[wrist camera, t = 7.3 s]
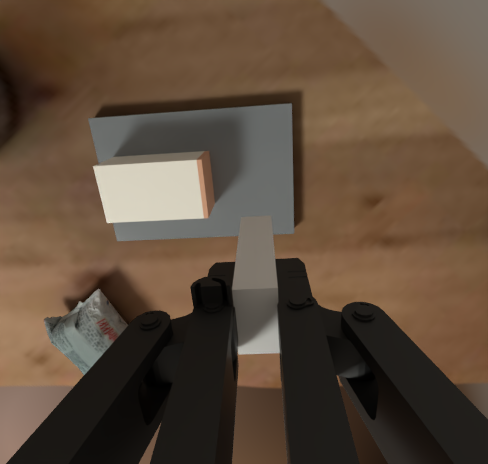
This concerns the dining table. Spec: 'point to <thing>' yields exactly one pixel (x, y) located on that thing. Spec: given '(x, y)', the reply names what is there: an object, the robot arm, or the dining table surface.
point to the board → (212, 164)
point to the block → (156, 187)
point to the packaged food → (86, 330)
